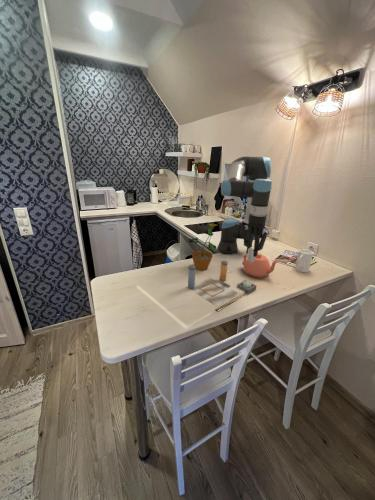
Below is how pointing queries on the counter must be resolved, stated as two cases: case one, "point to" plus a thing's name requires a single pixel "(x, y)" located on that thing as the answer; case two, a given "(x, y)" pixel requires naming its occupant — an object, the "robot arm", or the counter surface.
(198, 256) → the potted plant
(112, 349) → the counter surface
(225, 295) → the clipboard
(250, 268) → the teapot
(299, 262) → the mug
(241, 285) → the button base
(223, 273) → the orange marker
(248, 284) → the button
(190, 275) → the blue marker
